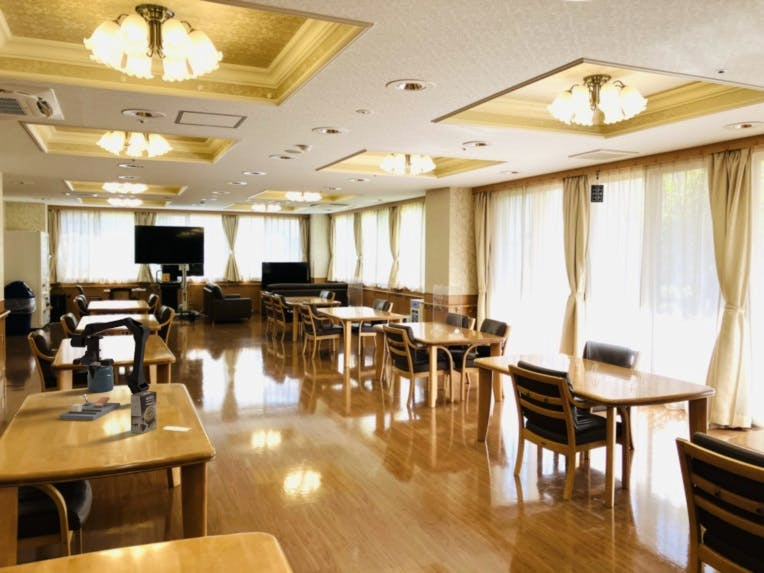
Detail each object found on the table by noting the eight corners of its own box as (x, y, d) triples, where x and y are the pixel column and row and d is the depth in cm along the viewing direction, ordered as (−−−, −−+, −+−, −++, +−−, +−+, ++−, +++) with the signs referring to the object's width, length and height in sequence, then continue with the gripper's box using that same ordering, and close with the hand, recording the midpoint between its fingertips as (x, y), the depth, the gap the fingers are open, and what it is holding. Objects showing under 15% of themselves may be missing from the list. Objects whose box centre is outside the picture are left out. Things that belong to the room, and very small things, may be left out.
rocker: (109, 398, 285) (109, 397, 285) (102, 407, 279) (101, 405, 279) (101, 398, 286) (101, 396, 285) (94, 407, 279) (93, 405, 279)
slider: (82, 410, 272) (81, 403, 272) (78, 412, 269) (77, 405, 269) (75, 410, 272) (75, 403, 272) (71, 412, 269) (71, 405, 269)
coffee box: (142, 434, 247) (142, 396, 246) (130, 432, 249) (129, 394, 248) (157, 428, 255) (157, 391, 254) (145, 426, 257) (145, 390, 256)
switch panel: (120, 407, 287) (119, 401, 287) (93, 420, 265) (93, 414, 264) (88, 405, 289) (88, 400, 289) (59, 419, 266) (59, 413, 266)
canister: (118, 387, 327) (118, 356, 326) (105, 393, 314) (104, 360, 313) (96, 386, 328) (95, 355, 327) (82, 392, 315) (81, 359, 314)
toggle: (89, 401, 284) (86, 393, 283) (87, 402, 282) (84, 394, 282) (87, 402, 284) (83, 394, 284) (85, 403, 282) (81, 395, 282)
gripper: (65, 350, 286) (66, 381, 287) (102, 351, 285) (102, 383, 286) (78, 346, 297) (79, 376, 298) (114, 347, 296) (114, 378, 297)
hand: (93, 378), depth 294 cm, fingers closed
